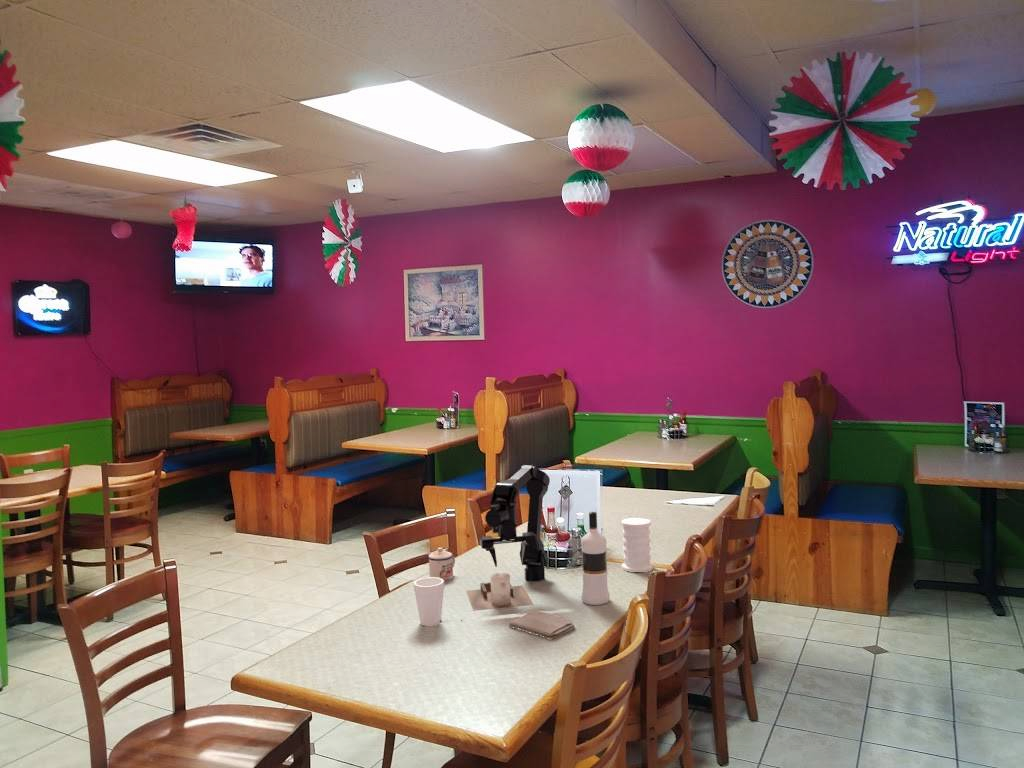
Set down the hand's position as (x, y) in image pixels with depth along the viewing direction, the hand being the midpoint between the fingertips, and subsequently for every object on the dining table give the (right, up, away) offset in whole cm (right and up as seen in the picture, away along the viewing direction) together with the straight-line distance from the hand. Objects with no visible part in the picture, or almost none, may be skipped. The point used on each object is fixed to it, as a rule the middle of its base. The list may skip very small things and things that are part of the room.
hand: (509, 565), depth 257 cm
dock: (-4, -12, 0) cm, 12 cm away
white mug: (-2, -11, -6) cm, 13 cm away
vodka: (+29, -11, -4) cm, 31 cm away
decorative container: (+48, -8, +29) cm, 57 cm away
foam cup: (-25, -14, -18) cm, 33 cm away
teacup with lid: (-24, -11, +27) cm, 38 cm away
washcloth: (+10, -14, -25) cm, 31 cm away
